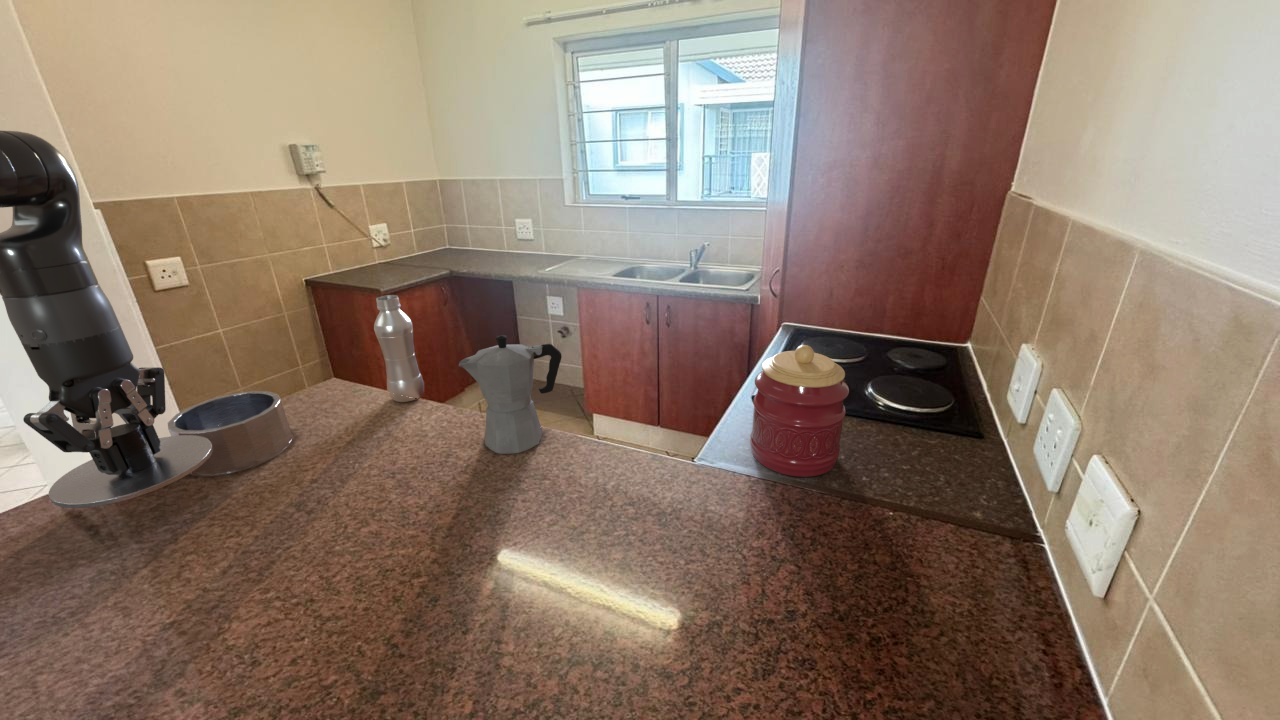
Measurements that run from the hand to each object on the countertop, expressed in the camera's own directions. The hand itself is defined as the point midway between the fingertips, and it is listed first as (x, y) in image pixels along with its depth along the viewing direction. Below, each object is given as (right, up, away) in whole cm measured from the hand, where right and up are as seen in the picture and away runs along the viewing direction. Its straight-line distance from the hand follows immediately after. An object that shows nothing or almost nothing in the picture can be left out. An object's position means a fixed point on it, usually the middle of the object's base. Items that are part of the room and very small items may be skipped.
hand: (133, 462), depth 61 cm
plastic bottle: (+17, +5, +35) cm, 40 cm away
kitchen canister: (+85, -2, +15) cm, 87 cm away
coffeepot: (+43, -1, +21) cm, 47 cm away
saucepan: (-1, -2, +18) cm, 18 cm away
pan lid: (0, -1, 0) cm, 1 cm away
